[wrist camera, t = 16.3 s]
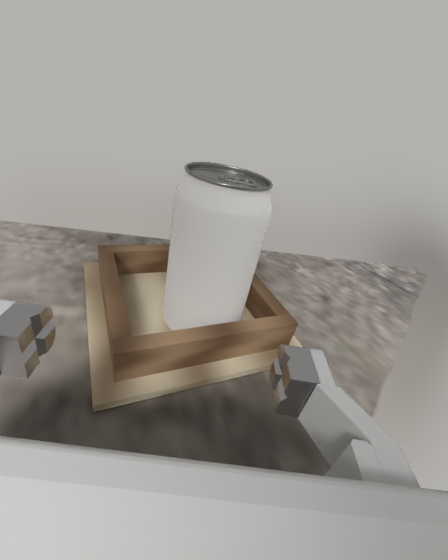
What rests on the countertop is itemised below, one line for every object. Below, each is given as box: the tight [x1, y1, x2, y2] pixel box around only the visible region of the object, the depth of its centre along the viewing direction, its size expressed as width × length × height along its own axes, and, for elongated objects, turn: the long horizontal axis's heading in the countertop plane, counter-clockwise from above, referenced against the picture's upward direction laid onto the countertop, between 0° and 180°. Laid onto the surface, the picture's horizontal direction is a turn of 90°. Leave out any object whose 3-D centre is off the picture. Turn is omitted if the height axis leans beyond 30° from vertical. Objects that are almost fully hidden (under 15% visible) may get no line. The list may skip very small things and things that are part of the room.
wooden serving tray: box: [84, 245, 303, 412], centre depth 25 cm, size 16×16×3 cm
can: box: [163, 162, 273, 331], centre depth 21 cm, size 6×6×12 cm
